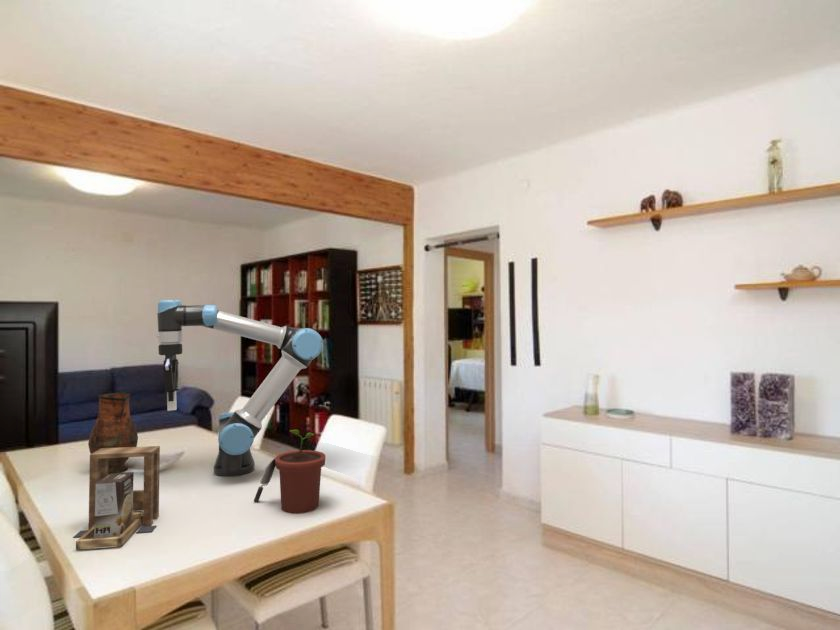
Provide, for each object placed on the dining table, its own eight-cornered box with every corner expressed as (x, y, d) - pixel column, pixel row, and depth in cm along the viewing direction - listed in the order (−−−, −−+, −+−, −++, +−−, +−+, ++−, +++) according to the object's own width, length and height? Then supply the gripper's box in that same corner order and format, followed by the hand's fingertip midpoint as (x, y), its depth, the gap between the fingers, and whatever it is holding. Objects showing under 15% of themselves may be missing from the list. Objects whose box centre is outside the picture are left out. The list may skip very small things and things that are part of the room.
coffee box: (120, 542, 129) (121, 481, 129) (93, 544, 128) (94, 483, 128) (133, 528, 138) (134, 471, 138) (108, 530, 137) (109, 472, 137)
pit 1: (96, 530, 136) (96, 529, 136) (89, 536, 132) (89, 535, 132) (80, 531, 135) (80, 530, 135) (73, 538, 131) (73, 536, 131)
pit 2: (156, 526, 139) (156, 525, 139) (151, 532, 135) (151, 531, 135) (141, 527, 138) (141, 526, 138) (136, 533, 134) (136, 532, 134)
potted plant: (283, 522, 143) (284, 437, 143) (252, 502, 159) (253, 425, 159) (335, 507, 155) (336, 428, 155) (301, 489, 171) (302, 418, 171)
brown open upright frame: (158, 516, 146) (159, 446, 147) (150, 526, 139) (151, 452, 140) (99, 520, 143) (101, 448, 143) (88, 530, 136) (89, 454, 137)
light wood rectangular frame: (155, 508, 151) (155, 489, 152) (121, 545, 126) (121, 522, 126) (118, 510, 149) (118, 491, 149) (75, 549, 124) (76, 525, 124)
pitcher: (97, 480, 180) (99, 398, 180) (77, 469, 193) (78, 393, 193) (145, 469, 193) (146, 393, 193) (123, 460, 206) (124, 389, 206)
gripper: (163, 343, 177) (164, 407, 177) (153, 344, 165) (155, 414, 165) (185, 342, 179) (187, 406, 179) (177, 343, 167) (179, 412, 167)
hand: (172, 409), depth 172 cm, fingers closed
